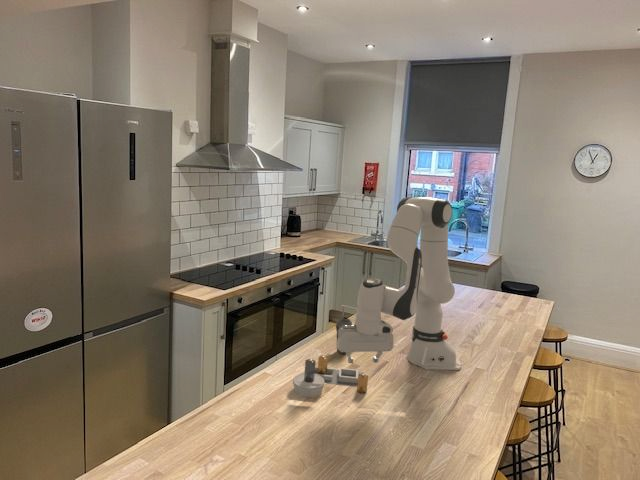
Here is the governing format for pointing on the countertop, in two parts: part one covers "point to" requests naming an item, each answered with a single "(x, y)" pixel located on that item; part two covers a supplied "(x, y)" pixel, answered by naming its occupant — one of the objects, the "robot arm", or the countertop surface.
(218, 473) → the countertop surface
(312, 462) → the countertop surface
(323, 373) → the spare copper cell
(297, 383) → the ramekin
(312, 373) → the cylinder
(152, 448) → the countertop surface
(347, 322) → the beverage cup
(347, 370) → the gray slab
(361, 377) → the copper cell
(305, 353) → the countertop surface
